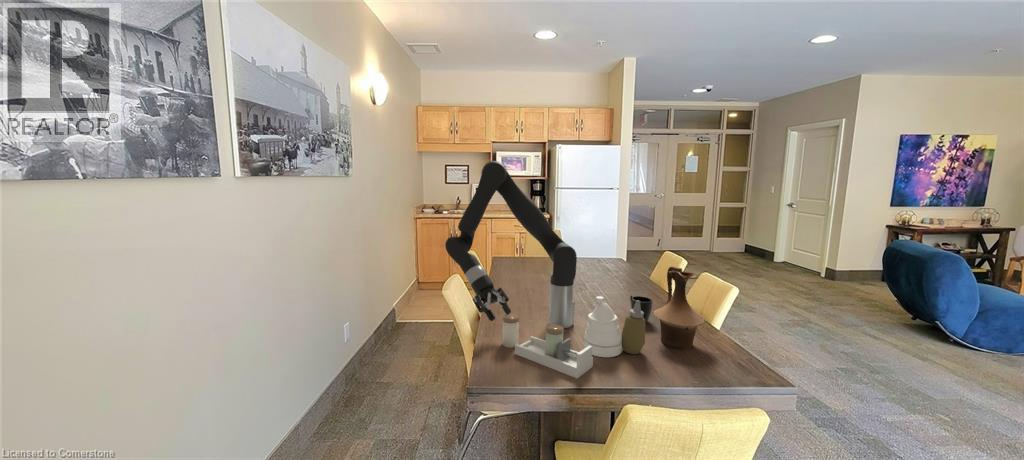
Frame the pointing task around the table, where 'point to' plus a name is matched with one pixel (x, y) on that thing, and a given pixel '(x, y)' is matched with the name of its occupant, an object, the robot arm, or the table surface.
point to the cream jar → (510, 330)
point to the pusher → (564, 350)
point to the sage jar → (553, 339)
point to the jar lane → (569, 366)
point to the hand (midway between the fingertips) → (501, 316)
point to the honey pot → (603, 331)
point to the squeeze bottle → (634, 330)
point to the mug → (642, 305)
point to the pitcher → (678, 312)
